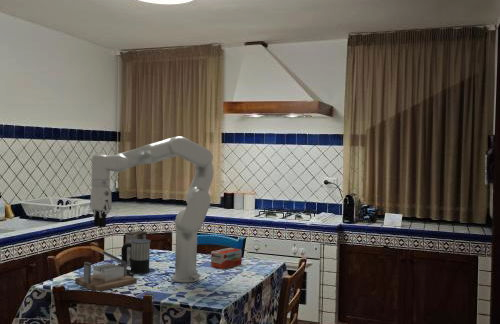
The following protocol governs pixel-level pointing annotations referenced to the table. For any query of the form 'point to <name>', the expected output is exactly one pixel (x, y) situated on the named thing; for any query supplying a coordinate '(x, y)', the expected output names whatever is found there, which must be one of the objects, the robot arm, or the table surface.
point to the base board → (105, 283)
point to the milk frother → (137, 256)
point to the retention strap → (107, 254)
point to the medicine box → (226, 258)
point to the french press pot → (133, 236)
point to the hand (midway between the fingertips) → (99, 226)
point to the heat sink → (105, 272)
